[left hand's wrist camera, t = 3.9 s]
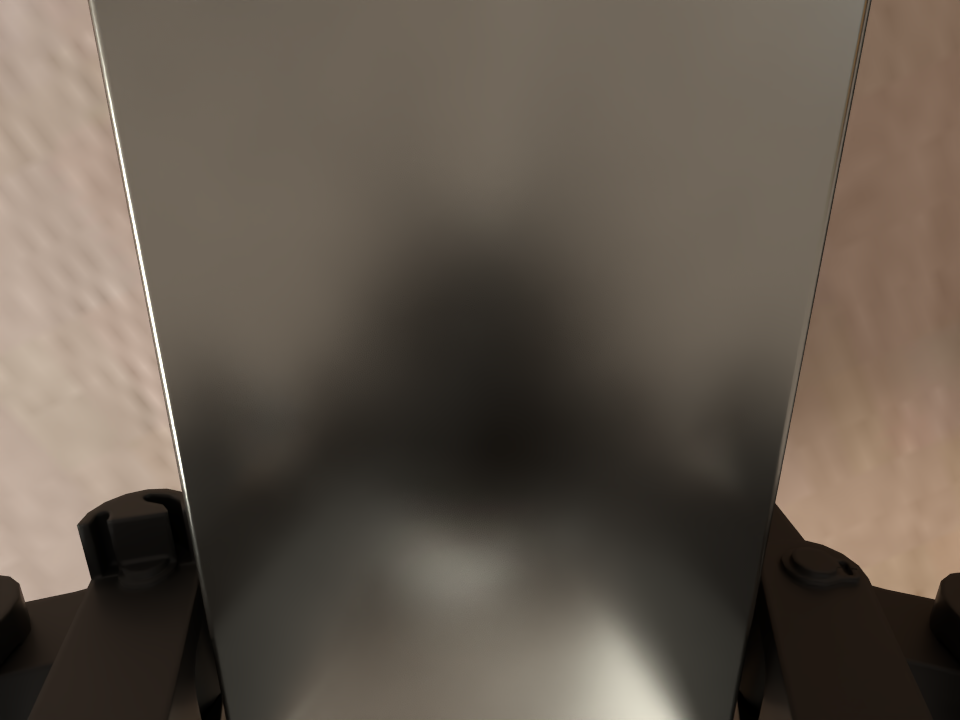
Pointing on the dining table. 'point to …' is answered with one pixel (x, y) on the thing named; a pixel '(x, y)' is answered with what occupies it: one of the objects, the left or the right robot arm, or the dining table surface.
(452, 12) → the bar
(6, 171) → the dining table surface
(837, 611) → the left robot arm
